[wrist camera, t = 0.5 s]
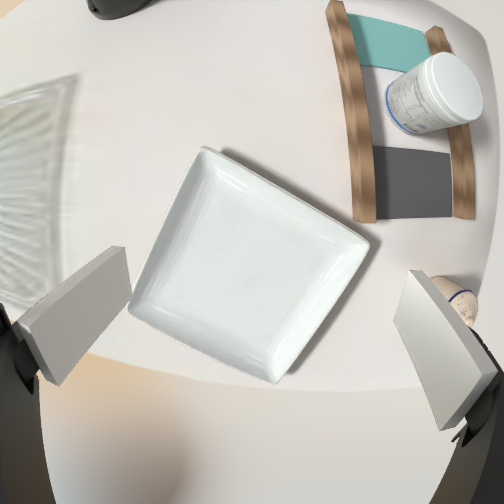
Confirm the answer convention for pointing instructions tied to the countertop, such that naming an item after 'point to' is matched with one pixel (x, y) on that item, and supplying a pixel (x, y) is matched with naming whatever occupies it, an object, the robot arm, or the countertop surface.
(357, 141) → the channel rails
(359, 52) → the pad
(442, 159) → the trap mat
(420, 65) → the supplement tub
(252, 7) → the countertop surface
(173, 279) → the square plate
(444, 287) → the teacup with lid
